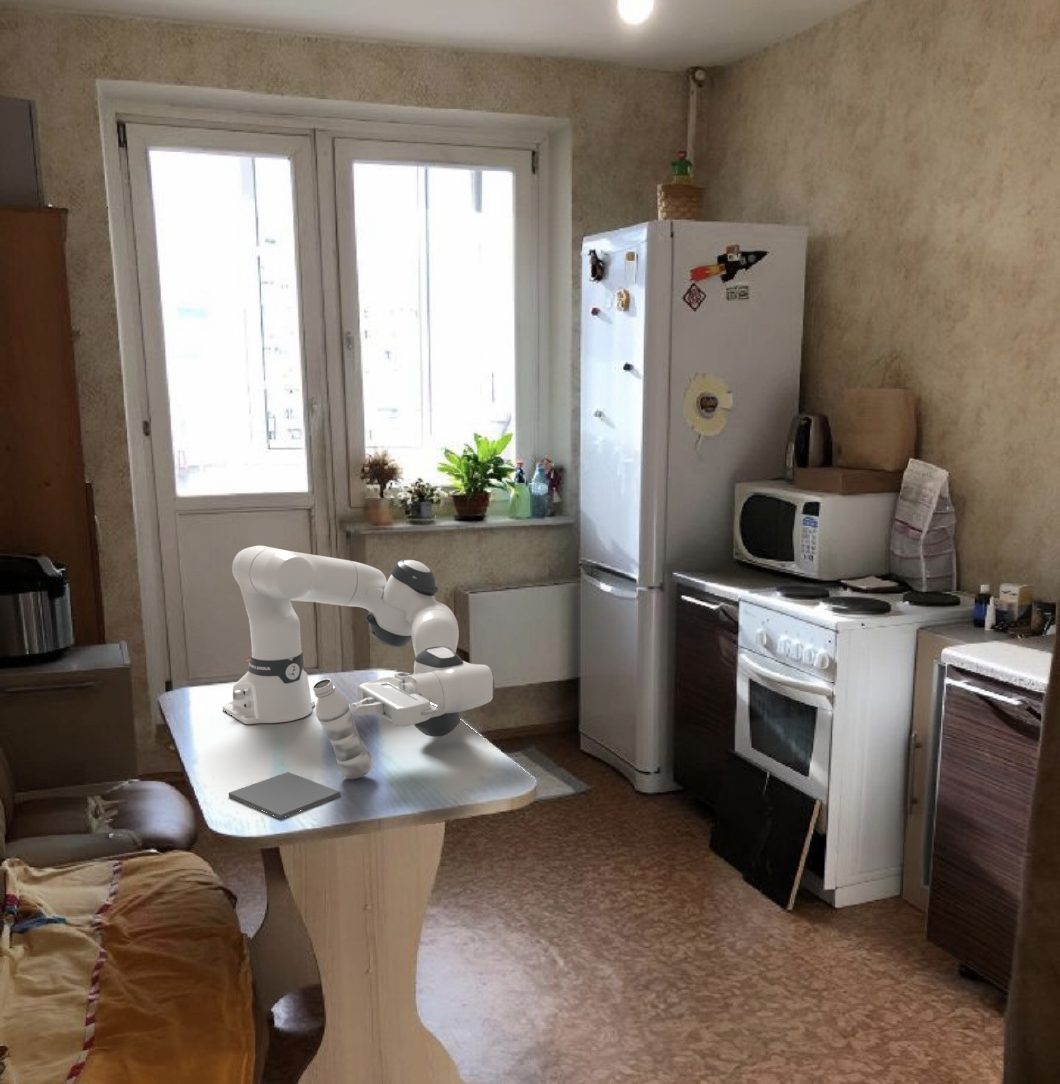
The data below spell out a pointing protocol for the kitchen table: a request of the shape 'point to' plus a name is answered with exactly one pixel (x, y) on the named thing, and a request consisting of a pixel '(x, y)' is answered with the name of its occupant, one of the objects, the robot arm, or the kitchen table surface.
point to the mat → (284, 794)
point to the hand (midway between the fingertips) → (353, 709)
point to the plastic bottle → (341, 731)
